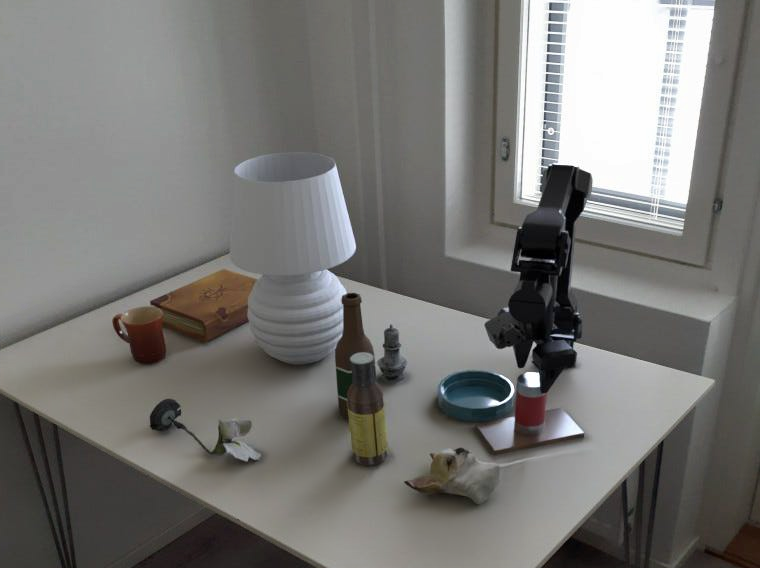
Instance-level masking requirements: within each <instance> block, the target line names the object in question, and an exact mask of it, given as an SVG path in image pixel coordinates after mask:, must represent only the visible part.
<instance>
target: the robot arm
mask: <svg viewBox="0 0 760 568" xmlns="http://www.w3.org/2000/svg"><path fill="white" fill-rule="evenodd" d="M592 190H593V175H592V173H590V172H588V171H586V170H583V169H581V168H580V166H578V165H576V164H573V163H555V162H554V163H551V164H548V166H547V168H546V169H544V170H543V171H542V177H541V183H540V190H539V192H540V193H541V196H540V198H539V199H540V200H539V202H538V205H537V207H536V210H534V211H532V212H530V213H528V214H527V215H526V216H525V218H524V220H523V222H522V224H521V226H519V227H518V228H517V231H516V235H515V239H514V240H515V242H514V247H513V254H512V259H511V265H510V272H515V273H519V280H518V282H517V284H516V286H515V288H514V290H513V292H512V293H511V296H510V298H509V300H508V301H507V302H508V303H507V305H508V306H507V307H502V308H501V309H500V310H499V311H498V313H497V315H496V316H495V317H493V318H491V319H489V320H487V321H485V323H484V328H485V331H486V333H487V336H488V340H489V341H490V342H491V343H492V344H493V345H494V346H495V348H496V349H498V350H503V349H506V348H511V347H512V349H513V353H514V358H515V361H516V365H517V368H518V369H524V368H525V367H526V364H527V362H528V359H529V357H530V354H531V358H532V360H531V363H532V365H534V366H535V367H536V368H537V370H538V373H539V382H540V392H541V393H542V394H543V393H547V394H548V392H549V391H550V390H551V388H552V386H553V385H554V384H555V382H556V381H557V379H558V378H559V376H560V375H561V374H562V372H563V371H564V370H565V369H566V368H571V367H575V366H576V365H577V359H578V352H577V350H575V348H574V345H575V343H576V342H577V340H579V339H582V338H583V337H582V336H583V319H581V313H580V312H578V299H577V297H576V295H575V294H574V292H573V291H572V289H571V286H572V276H573V264H574V253H575V241H576V231H577V220H578V219H579V217H580V216H581V215H582V213H583V212H584V210H585V208H586V205H587V203H588V199H591V196H592V192H593V191H592ZM520 257H521V258H526V259H529V260H526V259H520ZM534 343H535V344H536V345H535V346H534V347H533V344H534ZM532 348H533V349H532Z"/></svg>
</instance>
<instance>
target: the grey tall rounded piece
mask: <svg viewBox="0 0 760 568" xmlns="http://www.w3.org/2000/svg"><path fill="white" fill-rule="evenodd" d="M383 338H384V339H383V340H384V342H383V344H382V348H383V351H384V354H383V356H382V357H381V358H379V359H378V361H377V366H378V368H379V370H380V372H381V373H382V374H381V380H382V381H383V382H385V383H389V384H390V383H391V384H392V383H398V382H401V381H403V380H404V379H405V374H404V371H405V369H406V366H407V365H408V360H407V359H406V358H405V357H404V356H401V352H400V351H401V350H400V349H401V347H402V344H401V343H400V333H399V330H398V329H397V328H396V327H394V325H392V324H390V325H389V326H388V328H385V329H384V332H383Z"/></svg>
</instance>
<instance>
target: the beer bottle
mask: <svg viewBox="0 0 760 568" xmlns="http://www.w3.org/2000/svg"><path fill="white" fill-rule="evenodd" d="M346 293H347V294H345V295H343V296H342V299H341V301H342V304H343V334H342V337H341V338H340V340H339V341H338V343H337V346H336V349H335V350H334V353H335V354H334V362H335V363H334V364H335V375H336V376H335V377H336V392H337V405H338V412H339V417H340V418H342V419H344V420H347V421H349V416H348V405H347V401H348V399H347V393H348V390H349V388H350V386H351V384H352V369H351V367H350V357H351V356H352V355H354V354H356V353H361V352H366V353H370V354H372V355H373V356H374V362H375V363H376V358H375V350H374V347H373V344H372V342H371V340H370V338H369V337H368V336H367V335H366V334H365V330H364V324H363V316H362V307H361V304H362V303H363V299H362V296H361V294H359V293H356V292H346ZM374 375H375V381H376V382H377V369H376V364H375V365H374Z"/></svg>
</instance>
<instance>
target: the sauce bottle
mask: <svg viewBox="0 0 760 568" xmlns="http://www.w3.org/2000/svg"><path fill="white" fill-rule="evenodd" d="M374 357H375V355H374V356H373V355H372V354H370V353H366V352H361V353H356V354H354V355H352V356H351V357H350V367H351V369H352V384H351V386H350V388H349V390H348V393H347V399H348V401H347V405H348V416H349V420H348V425H349V436H350V444H351V451H352V457H353V459H354V461H355V462H357V463H358V464H360V465H362V466H367V467H370V466H375V465H380V464H381V463H383V462H384V461H385V460H386V458H387V456H388V438H387V437H388V436H387V424H386V423H387V422H386V409H385V402H384V392H383V390H382V387H381V386H380V385H379V384H378V382H377V380H376V381H375V375H374V365H375V366H376V361H375V362H374Z"/></svg>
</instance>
